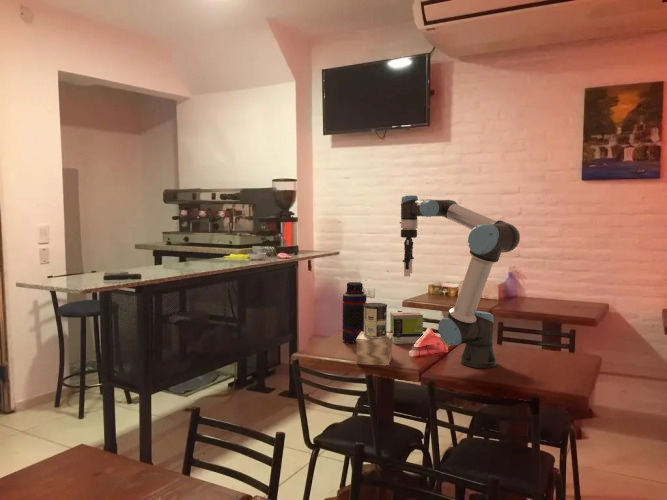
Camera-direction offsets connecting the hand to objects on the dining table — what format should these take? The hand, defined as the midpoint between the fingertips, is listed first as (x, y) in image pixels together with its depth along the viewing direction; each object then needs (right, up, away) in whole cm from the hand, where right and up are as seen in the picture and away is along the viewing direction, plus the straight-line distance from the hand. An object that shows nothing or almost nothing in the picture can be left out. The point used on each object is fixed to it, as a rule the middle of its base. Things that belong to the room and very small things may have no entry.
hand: (408, 274), depth 262 cm
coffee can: (-16, -27, -12) cm, 34 cm away
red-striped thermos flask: (-24, -35, +25) cm, 49 cm away
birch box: (-16, -38, -11) cm, 42 cm away
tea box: (+2, -35, +25) cm, 43 cm away
